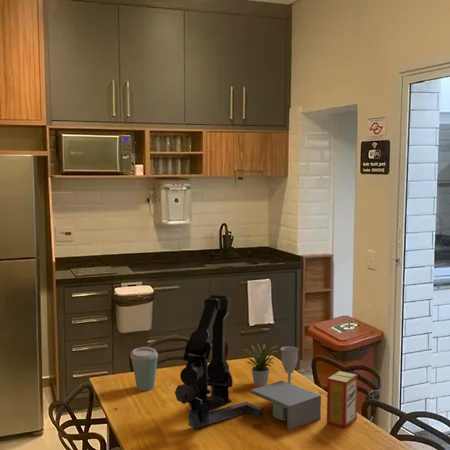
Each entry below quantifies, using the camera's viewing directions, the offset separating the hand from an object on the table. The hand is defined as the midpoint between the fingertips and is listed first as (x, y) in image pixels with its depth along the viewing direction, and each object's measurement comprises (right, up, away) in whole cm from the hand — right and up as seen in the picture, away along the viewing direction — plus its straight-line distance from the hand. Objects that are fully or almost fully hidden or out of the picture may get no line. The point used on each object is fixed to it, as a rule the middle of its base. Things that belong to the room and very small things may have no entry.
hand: (199, 421), depth 204 cm
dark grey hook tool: (+9, -1, +4) cm, 10 cm away
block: (+29, -1, +9) cm, 30 cm away
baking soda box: (+48, -2, +5) cm, 48 cm away
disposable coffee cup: (-23, +1, +36) cm, 43 cm away
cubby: (+29, -1, +10) cm, 31 cm away
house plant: (+24, +1, +41) cm, 48 cm away
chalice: (+33, 0, +29) cm, 44 cm away
